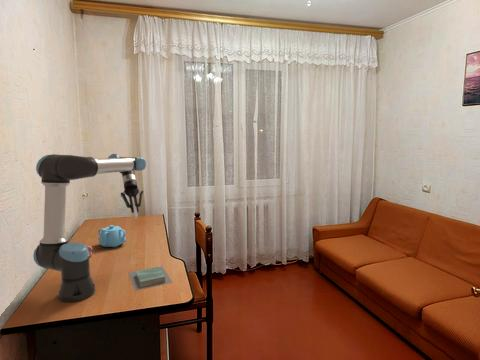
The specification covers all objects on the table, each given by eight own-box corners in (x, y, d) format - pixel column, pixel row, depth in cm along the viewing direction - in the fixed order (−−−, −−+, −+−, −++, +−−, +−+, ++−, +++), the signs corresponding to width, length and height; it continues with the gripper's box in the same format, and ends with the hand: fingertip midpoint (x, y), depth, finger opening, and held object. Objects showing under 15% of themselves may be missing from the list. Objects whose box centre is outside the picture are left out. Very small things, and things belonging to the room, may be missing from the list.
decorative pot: (100, 251, 201) (99, 230, 199) (98, 243, 215) (96, 224, 213) (127, 246, 209) (126, 226, 207) (123, 239, 223) (122, 221, 221)
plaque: (158, 270, 170) (165, 281, 158) (135, 275, 164) (140, 286, 152) (158, 266, 170) (165, 277, 157) (135, 271, 164) (140, 282, 152)
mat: (172, 283, 157) (172, 282, 157) (135, 291, 149) (135, 290, 148) (162, 267, 176) (162, 266, 176) (128, 273, 168) (128, 272, 168)
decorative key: (58, 263, 189) (94, 255, 193) (58, 264, 187) (93, 255, 192) (55, 253, 187) (91, 245, 192) (55, 254, 186) (90, 245, 191)
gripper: (140, 186, 194) (147, 219, 181) (118, 188, 188) (123, 221, 175) (142, 178, 188) (148, 212, 176) (118, 180, 182) (124, 214, 170)
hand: (136, 216), depth 176 cm, fingers closed
